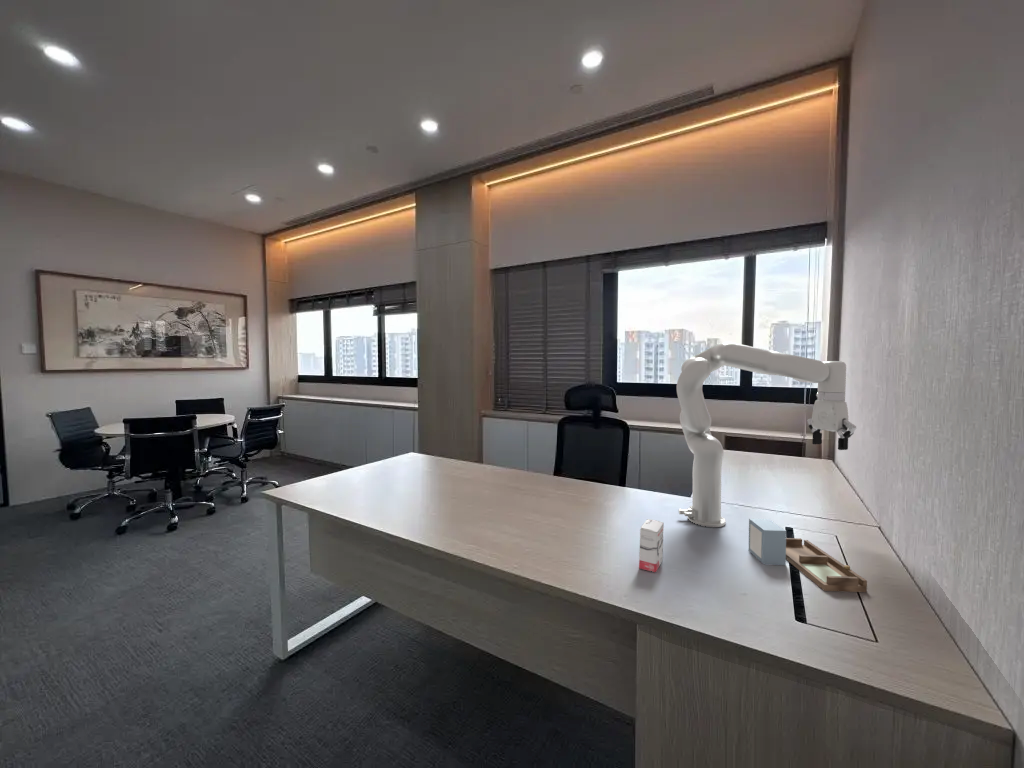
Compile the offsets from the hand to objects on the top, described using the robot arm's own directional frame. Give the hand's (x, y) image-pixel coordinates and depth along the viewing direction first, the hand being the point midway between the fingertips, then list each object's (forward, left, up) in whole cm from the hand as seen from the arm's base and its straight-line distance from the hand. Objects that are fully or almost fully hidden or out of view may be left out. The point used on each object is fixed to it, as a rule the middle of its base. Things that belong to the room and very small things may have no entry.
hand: (829, 446), depth 142 cm
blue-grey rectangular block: (-32, -24, -29) cm, 49 cm away
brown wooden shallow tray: (-22, -30, -29) cm, 47 cm away
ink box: (-67, -31, -29) cm, 79 cm away
